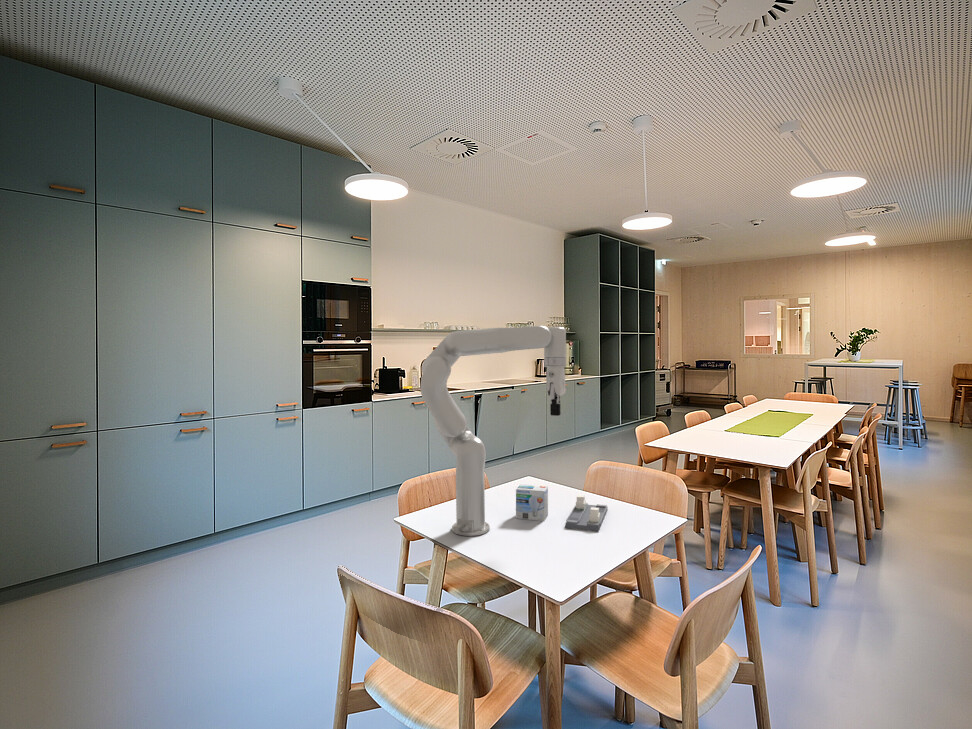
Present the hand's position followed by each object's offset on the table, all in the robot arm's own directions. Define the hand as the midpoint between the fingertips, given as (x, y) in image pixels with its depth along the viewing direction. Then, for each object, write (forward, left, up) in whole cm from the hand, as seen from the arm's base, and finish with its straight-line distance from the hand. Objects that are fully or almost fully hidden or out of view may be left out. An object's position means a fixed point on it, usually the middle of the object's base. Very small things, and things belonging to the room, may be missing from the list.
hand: (555, 415), depth 175 cm
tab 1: (+12, -6, -35) cm, 38 cm away
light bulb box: (+1, +9, -37) cm, 38 cm away
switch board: (+6, -10, -37) cm, 39 cm away
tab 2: (-1, -14, -35) cm, 38 cm away
